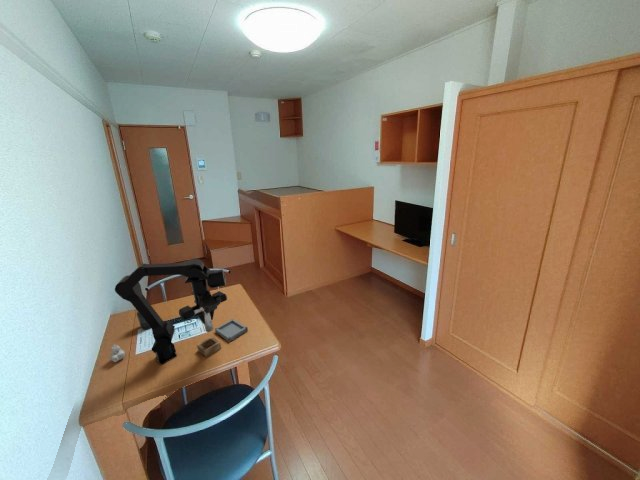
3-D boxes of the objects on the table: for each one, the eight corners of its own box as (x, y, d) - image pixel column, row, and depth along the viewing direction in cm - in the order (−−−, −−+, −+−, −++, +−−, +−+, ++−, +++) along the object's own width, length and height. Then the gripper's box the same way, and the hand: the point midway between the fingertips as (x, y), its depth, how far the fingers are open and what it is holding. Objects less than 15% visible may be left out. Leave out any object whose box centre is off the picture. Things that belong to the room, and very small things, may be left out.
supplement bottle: (159, 321, 145) (153, 301, 141) (150, 330, 138) (144, 309, 134) (146, 321, 145) (140, 301, 141) (137, 329, 139) (131, 309, 135)
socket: (206, 357, 117) (204, 351, 116) (198, 350, 122) (196, 344, 121) (221, 348, 122) (220, 342, 121) (212, 341, 127) (211, 336, 126)
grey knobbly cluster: (128, 353, 123) (123, 338, 120) (123, 363, 117) (117, 347, 114) (114, 356, 121) (108, 341, 119) (108, 367, 115) (102, 351, 113)
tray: (229, 342, 126) (228, 338, 125) (215, 332, 133) (214, 328, 133) (247, 330, 133) (247, 327, 132) (233, 322, 140) (232, 318, 140)
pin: (207, 332, 118) (203, 312, 115) (204, 330, 120) (199, 310, 117) (214, 329, 121) (210, 309, 117) (211, 326, 123) (206, 306, 119)
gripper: (186, 305, 103) (195, 340, 108) (230, 285, 116) (237, 317, 121) (174, 296, 110) (182, 330, 115) (217, 278, 123) (223, 309, 128)
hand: (207, 321), depth 119 cm, fingers closed on pin, 3 cm apart
